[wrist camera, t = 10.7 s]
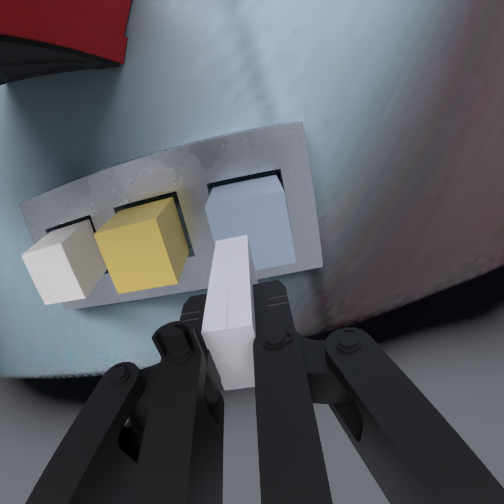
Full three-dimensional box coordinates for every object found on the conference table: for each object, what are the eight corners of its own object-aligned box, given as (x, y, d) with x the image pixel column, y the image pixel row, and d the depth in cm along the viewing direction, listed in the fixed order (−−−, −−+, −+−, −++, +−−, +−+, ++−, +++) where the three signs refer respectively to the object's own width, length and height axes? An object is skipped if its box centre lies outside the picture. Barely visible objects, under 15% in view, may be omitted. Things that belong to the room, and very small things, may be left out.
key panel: (73, 299, 29) (65, 310, 27) (30, 197, 24) (19, 204, 22) (318, 256, 27) (323, 266, 26) (298, 121, 22) (302, 121, 21)
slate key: (227, 244, 25) (223, 276, 20) (213, 187, 23) (204, 207, 18) (286, 233, 24) (295, 262, 20) (276, 174, 22) (284, 191, 18)
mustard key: (137, 262, 25) (118, 293, 21) (119, 210, 23) (93, 234, 19) (189, 252, 25) (177, 283, 20) (172, 196, 23) (155, 218, 18)
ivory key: (69, 276, 26) (45, 304, 21) (50, 231, 24) (21, 255, 19) (108, 267, 26) (85, 298, 21) (89, 219, 24) (60, 242, 19)
